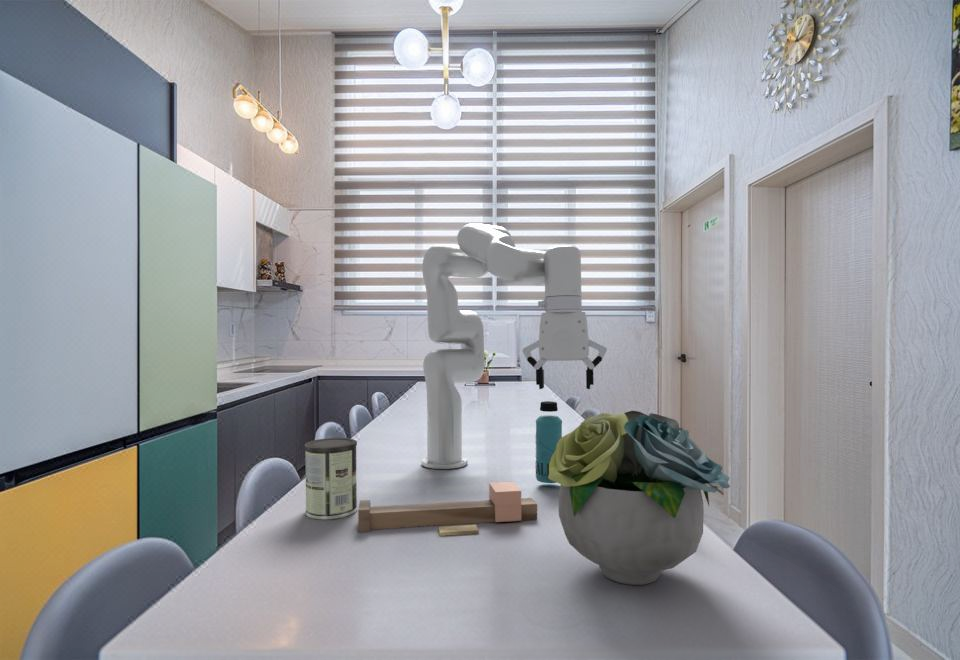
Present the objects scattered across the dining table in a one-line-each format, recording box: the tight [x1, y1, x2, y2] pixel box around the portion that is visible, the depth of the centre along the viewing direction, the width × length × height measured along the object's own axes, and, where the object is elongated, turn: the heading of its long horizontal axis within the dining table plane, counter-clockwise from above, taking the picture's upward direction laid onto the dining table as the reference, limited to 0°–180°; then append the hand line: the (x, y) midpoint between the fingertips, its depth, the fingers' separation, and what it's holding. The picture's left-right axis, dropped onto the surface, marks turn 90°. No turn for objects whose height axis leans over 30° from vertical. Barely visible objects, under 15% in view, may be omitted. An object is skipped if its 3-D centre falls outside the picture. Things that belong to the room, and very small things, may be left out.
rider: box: [488, 481, 522, 523], centre depth 110 cm, size 7×5×6 cm
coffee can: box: [304, 437, 358, 521], centre depth 114 cm, size 10×10×14 cm
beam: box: [357, 497, 538, 537], centre depth 108 cm, size 15×34×4 cm, turn 100°
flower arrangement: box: [548, 410, 731, 586], centre depth 84 cm, size 25×25×24 cm
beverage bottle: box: [534, 400, 563, 484], centre depth 132 cm, size 6×7×20 cm
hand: (564, 388), depth 116 cm, fingers open, 9 cm apart
